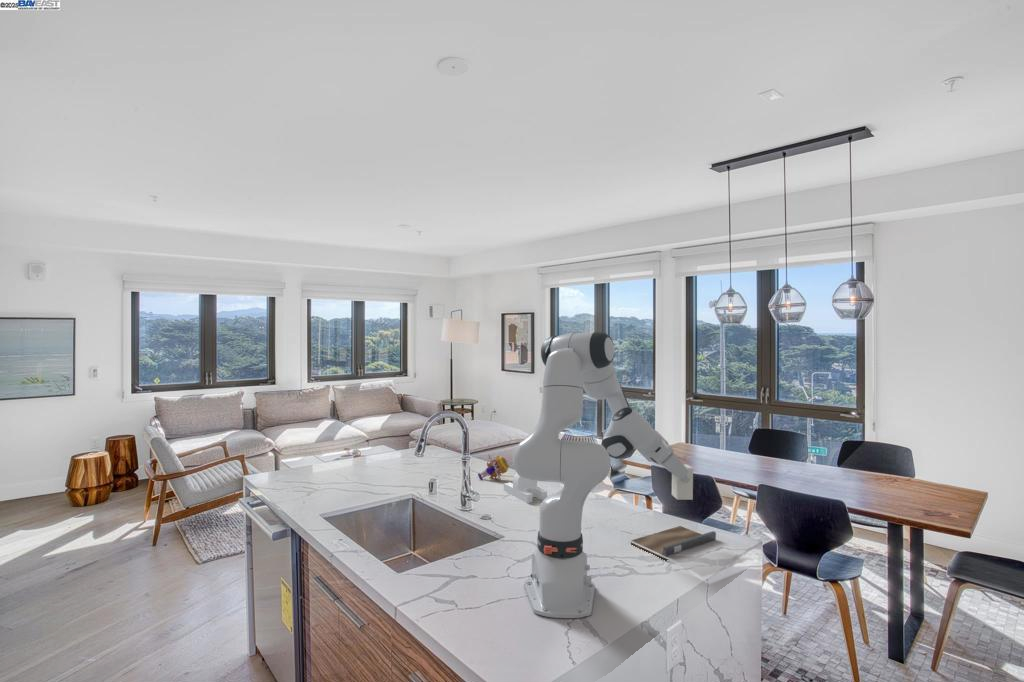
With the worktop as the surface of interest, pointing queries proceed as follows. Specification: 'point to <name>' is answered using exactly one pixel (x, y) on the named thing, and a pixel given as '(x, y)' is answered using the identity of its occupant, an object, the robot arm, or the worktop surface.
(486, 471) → the toy
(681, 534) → the spiral bound notebook
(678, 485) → the carton
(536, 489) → the tape dispenser
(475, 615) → the worktop surface
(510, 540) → the worktop surface
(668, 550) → the price rail
